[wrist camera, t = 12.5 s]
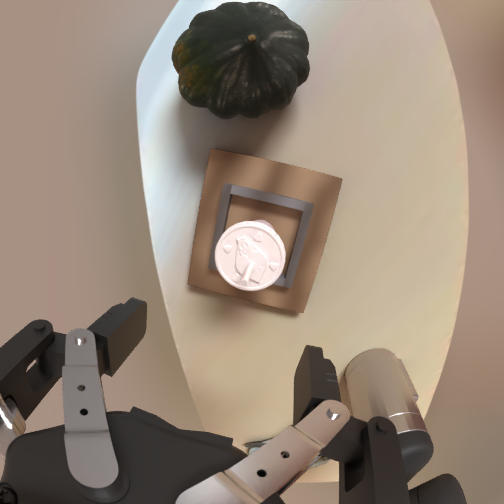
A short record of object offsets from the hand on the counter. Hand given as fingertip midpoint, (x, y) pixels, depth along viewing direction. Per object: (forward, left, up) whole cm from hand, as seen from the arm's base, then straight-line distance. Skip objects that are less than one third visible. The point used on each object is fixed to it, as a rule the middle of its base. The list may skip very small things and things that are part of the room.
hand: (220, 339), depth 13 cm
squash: (+6, -20, -24) cm, 32 cm away
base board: (0, 0, -24) cm, 24 cm away
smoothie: (0, 0, -22) cm, 22 cm away
